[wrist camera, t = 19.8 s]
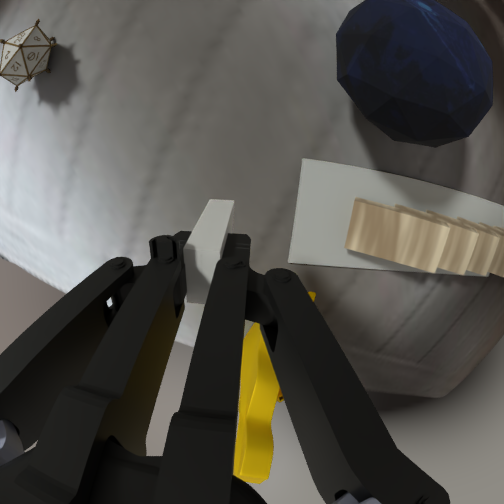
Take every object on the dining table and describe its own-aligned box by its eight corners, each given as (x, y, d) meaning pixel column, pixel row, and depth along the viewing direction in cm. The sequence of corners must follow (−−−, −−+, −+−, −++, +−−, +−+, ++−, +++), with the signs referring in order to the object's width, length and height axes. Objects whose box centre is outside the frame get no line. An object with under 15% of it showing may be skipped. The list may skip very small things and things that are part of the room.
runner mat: (302, 158, 27) (302, 158, 27) (509, 208, 28) (511, 209, 28) (287, 261, 33) (288, 262, 32) (486, 275, 33) (488, 276, 33)
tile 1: (344, 248, 29) (434, 273, 26) (354, 200, 27) (450, 228, 23) (346, 241, 31) (432, 265, 27) (355, 196, 29) (446, 222, 25)
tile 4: (448, 258, 30) (507, 278, 26) (460, 220, 27) (520, 243, 23) (446, 252, 31) (503, 272, 27) (457, 216, 29) (515, 238, 25)
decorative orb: (344, -38, 13) (390, -30, 6) (469, 27, 14) (551, 100, 7) (310, 67, 26) (316, 150, 19) (421, 109, 27) (461, 201, 20)
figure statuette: (273, 369, 41) (277, 500, 22) (224, 358, 40) (209, 494, 21) (323, 280, 34) (375, 445, 14) (264, 262, 33) (270, 443, 13)
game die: (53, 56, 23) (9, 26, 14) (84, 36, 21) (35, -3, 11) (23, 108, 23) (-28, 81, 13) (48, 94, 20) (-13, 57, 11)
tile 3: (416, 255, 30) (485, 276, 26) (429, 213, 27) (499, 238, 24) (415, 249, 31) (481, 269, 28) (426, 209, 29) (494, 232, 25)
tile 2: (384, 252, 29) (463, 275, 26) (396, 207, 27) (478, 233, 23) (384, 245, 31) (460, 268, 27) (394, 203, 29) (474, 228, 25)
